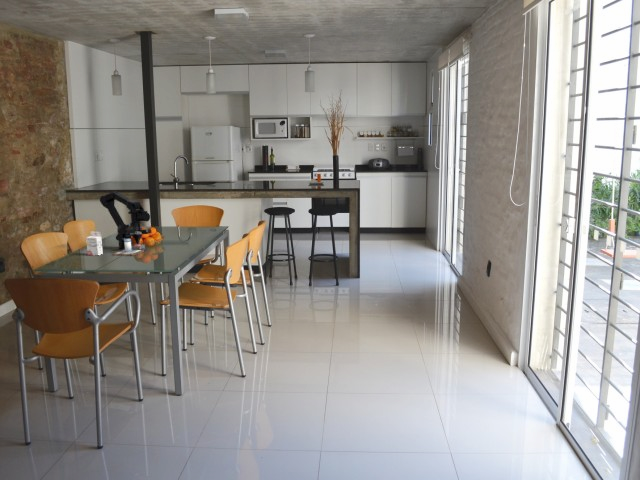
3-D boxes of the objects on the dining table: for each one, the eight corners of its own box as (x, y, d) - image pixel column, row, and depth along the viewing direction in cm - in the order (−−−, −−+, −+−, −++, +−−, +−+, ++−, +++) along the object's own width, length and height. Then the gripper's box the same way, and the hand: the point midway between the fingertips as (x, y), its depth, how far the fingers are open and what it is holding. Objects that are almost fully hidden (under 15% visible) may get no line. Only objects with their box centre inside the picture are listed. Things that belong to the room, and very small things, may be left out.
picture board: (112, 255, 382) (112, 253, 382) (124, 250, 396) (124, 249, 395) (132, 256, 379) (132, 254, 379) (144, 251, 392) (144, 249, 392)
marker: (123, 252, 385) (122, 239, 384) (127, 250, 389) (126, 238, 388) (129, 252, 384) (128, 239, 383) (133, 250, 388) (131, 238, 387)
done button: (133, 248, 396) (132, 244, 396) (136, 247, 401) (136, 243, 400) (139, 249, 395) (138, 244, 395) (142, 247, 399) (142, 243, 399)
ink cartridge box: (87, 255, 385) (84, 232, 382) (92, 253, 390) (90, 231, 387) (98, 255, 382) (96, 232, 379) (103, 254, 387) (101, 231, 384)
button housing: (131, 250, 396) (130, 246, 395) (136, 248, 402) (136, 244, 401) (139, 250, 394) (139, 246, 394) (145, 249, 400) (144, 244, 400)
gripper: (116, 222, 389) (118, 246, 392) (142, 222, 385) (144, 246, 388) (125, 219, 400) (127, 243, 403) (151, 220, 395) (152, 243, 398)
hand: (137, 244), depth 397 cm, fingers closed, pressing on done button
